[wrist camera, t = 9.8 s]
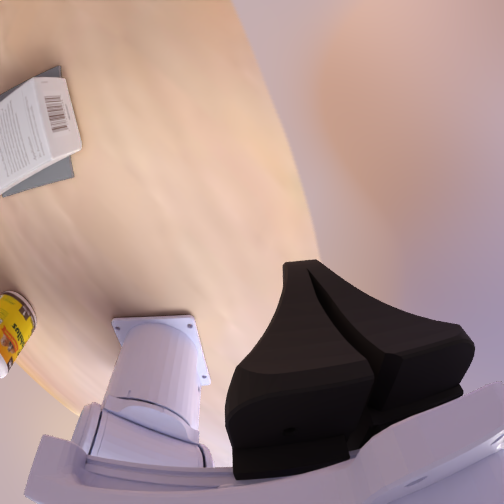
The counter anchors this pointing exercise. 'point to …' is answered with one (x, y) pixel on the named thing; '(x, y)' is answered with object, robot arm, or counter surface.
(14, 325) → the supplement bottle
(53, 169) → the mat
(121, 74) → the counter surface
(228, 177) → the counter surface
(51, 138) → the skincare box
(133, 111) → the counter surface
